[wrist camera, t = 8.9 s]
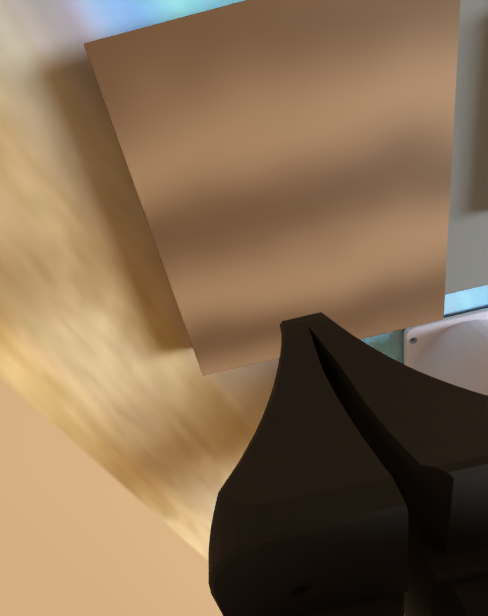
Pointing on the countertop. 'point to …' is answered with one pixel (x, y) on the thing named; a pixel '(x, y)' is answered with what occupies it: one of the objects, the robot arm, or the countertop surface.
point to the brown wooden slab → (291, 163)
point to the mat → (469, 155)
